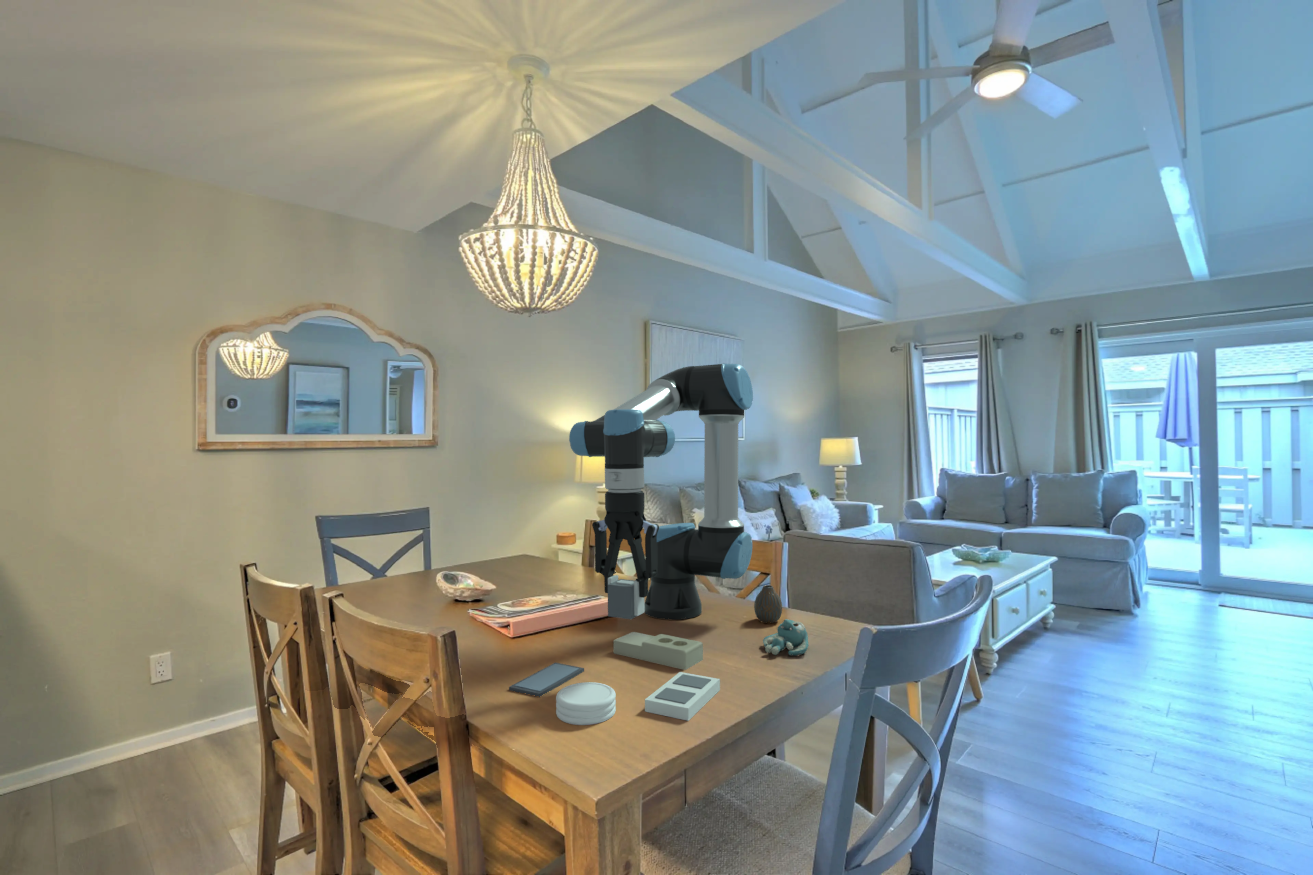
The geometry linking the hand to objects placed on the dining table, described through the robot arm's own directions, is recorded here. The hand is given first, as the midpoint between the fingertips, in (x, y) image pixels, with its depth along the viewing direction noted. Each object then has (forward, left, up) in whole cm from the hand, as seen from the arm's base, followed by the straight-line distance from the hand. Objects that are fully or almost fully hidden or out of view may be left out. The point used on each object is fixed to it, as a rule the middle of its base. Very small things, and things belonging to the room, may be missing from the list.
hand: (626, 611), depth 121 cm
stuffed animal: (-29, +23, -13) cm, 39 cm away
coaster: (+16, +1, -13) cm, 21 cm away
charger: (0, 0, 0) cm, 0 cm away
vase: (-49, +13, -13) cm, 52 cm away
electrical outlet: (-14, 0, -13) cm, 19 cm away
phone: (+7, -13, -13) cm, 20 cm away
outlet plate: (+4, +14, -13) cm, 19 cm away
